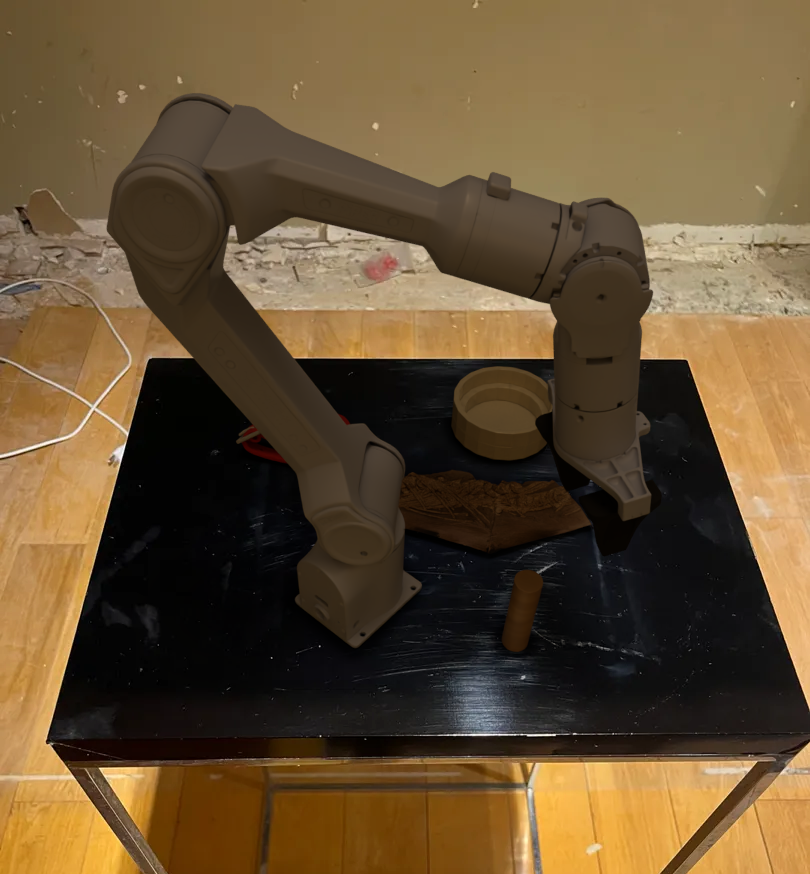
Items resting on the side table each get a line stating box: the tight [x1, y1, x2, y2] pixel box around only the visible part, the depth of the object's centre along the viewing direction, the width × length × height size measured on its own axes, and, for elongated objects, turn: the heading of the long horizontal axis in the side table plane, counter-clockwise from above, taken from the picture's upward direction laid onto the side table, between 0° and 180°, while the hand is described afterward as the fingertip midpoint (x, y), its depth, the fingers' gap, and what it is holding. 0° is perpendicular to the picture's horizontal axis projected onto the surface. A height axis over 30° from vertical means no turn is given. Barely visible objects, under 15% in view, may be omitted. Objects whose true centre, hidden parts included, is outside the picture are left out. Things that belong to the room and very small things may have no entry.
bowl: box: [450, 365, 553, 461], centre depth 92 cm, size 11×11×4 cm
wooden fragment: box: [398, 469, 594, 555], centre depth 84 cm, size 26×11×1 cm, turn 84°
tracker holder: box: [235, 413, 351, 465], centre depth 89 cm, size 12×4×10 cm
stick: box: [501, 569, 544, 653], centre depth 72 cm, size 2×2×9 cm
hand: (593, 516), depth 68 cm, fingers open, 7 cm apart
